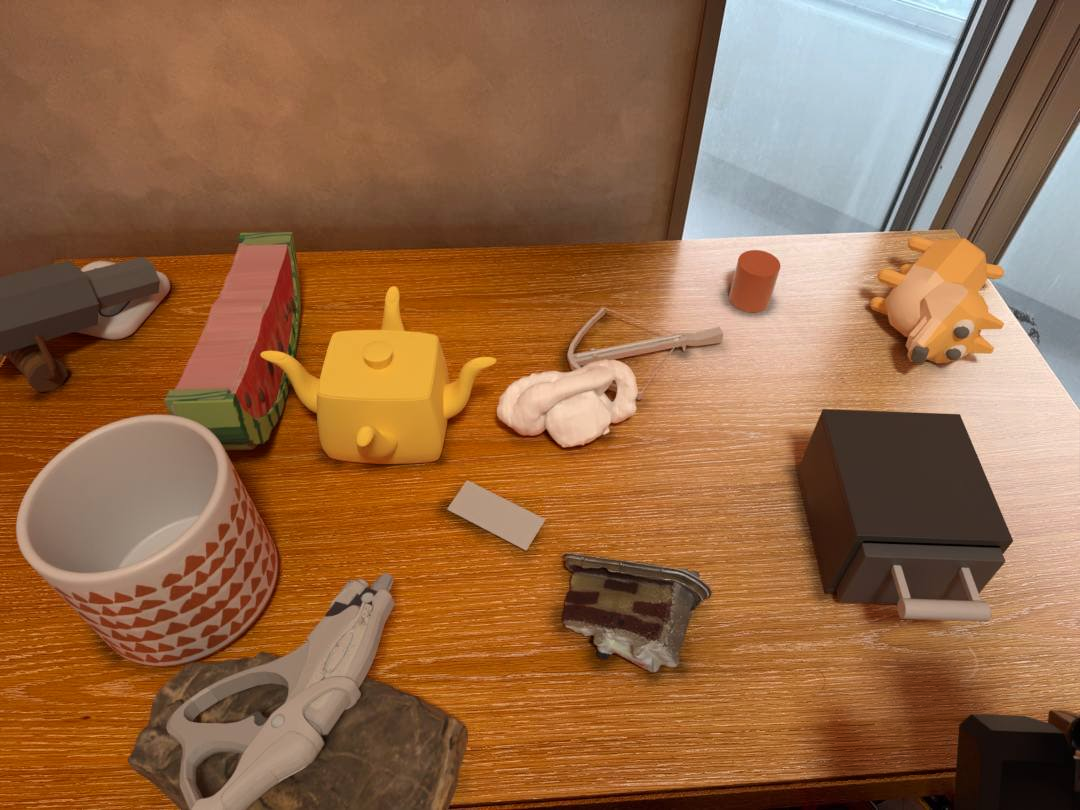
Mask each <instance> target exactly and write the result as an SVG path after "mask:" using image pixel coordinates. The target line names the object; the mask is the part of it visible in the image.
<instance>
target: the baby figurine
mask: <svg viewBox="0 0 1080 810" xmlns="http://www.w3.org/2000/svg"><path fill="white" fill-rule="evenodd" d="M613 381H615V384H616V385H617V392H616V395H615V398H614V400H611V399H610V397H608V396H607V394H606V393H605V392H606V391H607V390H609V389H608V387H609V386H610V384H611V383H614V382H613ZM638 391H639V389H638V384H637V377H636V376H635V373H634V372H633V370H632V368H631V367H630V366H629V365H627V364H626V363H624V362H622V361H620V360H617V359H614V360H607V359H605V360H600V361H595V362H591V363H589V364H587V365H583V366H581V368H578V369H576V370H574V371H572V370H571V371H566V372H563V371H556V370H547V371H542V372H539V373H535V372H531V374H530V375H527V376H522V377H520V378H519V379H517V380H514V381H513V382H512V383H510V384H509V385H508V386H507V387H506V389H505V390H504V392H503V393H501V395H500V396H499V398H498V405H497V407H496V410H495V411H496V415H497V418H498V420H499V421H500V422H502V423H503V424H505V425H506V426H507V427H509V428H511V429H513V431H515V433H517V434H519V435H521V436H525V437H526V436H529V437H534V436H538V435H541V434H543V432H545V431H547V432H548V435H549V436H550V437H551V438H552V439H553V440H554V441H555V442H556V443H557V444H558V445H560V447H562V448H573V447H576V446H585V444H589V443H592V441H594V440H596V439H597V438H599V437H601V436H605V435H607V434H609V433H610V428H609V426H610V424H619V423H620V422H623V421H625V420H627V419H628V418H630V417H632V416H634V415H635V414H636V412H637V408H638V407H637V404H636V402H637V401H636V400H637V399H636V397H637V395H638Z"/></svg>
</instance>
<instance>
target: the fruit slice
mask: <svg viewBox="0 0 1080 810" xmlns="http://www.w3.org/2000/svg"><path fill="white" fill-rule="evenodd" d="M237 239H238V246H237V249H236V252H235V255H234V258H233V261H232V263H231V267H230V269H229V271H228V273H227V275H226V277H225V279H224V281H223V282H224V283H223V286H222V288H221V290H220V293H219V295H218V297H217V299H215V300H214V302H213V303H212V304H211V306H210V310H209V314H208V317H207V320H206V324H205V325H204V327H203V330H202V332H201V334H200V337H199V339H198V341H197V343H196V345H195V347H194V349H193V350H192V353H191V355H190V357H189V358H188V361H187V363H186V365H185V368H184V370H183V372H182V374H181V376H180V379H179V381H178V383H177V384H176V386H175V388H174V389H169V390H168V392H167V394H166V396H165V398H164V399H163V401H164V403H165V404H164V405H165V406H166V409H167V411H168V413H169V415H173V416H179V417H184V418H187V419H190V420H193V421H195V422H197V423H199V424H201V425H203V426H204V427H206V428H207V429H209V430H210V431H211V432H212V433H213V434H214V435H215V436H216V437H217V438H218V440H219V441H220V443H221V444H222V446H223V448H224V449H225V451H247V450H248V451H249V450H250V451H251V450H254V449H255V448H256V447H258V445H264V444H265V443H266V441H269V439H270V436H271V433H272V430H273V429H274V428H275V426H276V425H277V423H278V421H279V420H280V418H281V416H282V413H283V411H284V407H285V404H286V401H287V397H288V393H289V391H290V390H289V389H290V386H291V381H290V379H289V378H288V376H287V374H286V373H285V372H284V371H283V370H282V369H281V368H280V367H279V366H277V365H276V364H274V363H272V362H270V361H267V360H265V359H264V358H262V357H261V356H260V354H261V353H262V352H264V351H278V352H283V353H286V354H288V355H290V356H292V357H293V358H295V359H296V356H297V345H298V339H299V331H300V322H301V306H302V305H301V303H302V301H301V286H300V284H301V283H300V275H299V266H298V258H297V251H296V246H295V240H294V235H293V231H272V232H271V231H268V232H264V231H263V232H240V234H239V235H238V238H237Z"/></svg>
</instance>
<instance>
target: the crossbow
mask: <svg viewBox="0 0 1080 810" xmlns="http://www.w3.org/2000/svg"><path fill="white" fill-rule="evenodd" d="M606 310H607V311H609V312H612V313H615V314H618V315H620V316H622V317H626V318H628V319H631V320H634V321H637V322H639V323H641V324H645V325H646V326H650V327H653V328H656V329H659V330H661V331H664V332H666V333H669V335H660V336H656V337H653V338H649V339H644V340H639V341H632V342H627V343H623V344H618V345H613V346H609V347H608V346H607V347H602V348H597V349H596V348H595V347H591V348H590V349H589V350H587V351H582V352H577V353H575V350H576V348H577V346H578V345H579V343H580V341H581V340H582V339H583V338H584V336H585V335H586V334H587V333H588V332H589V330H590V329H591V328H592V327H593V326H594V325H595V324H596V323H597V322H598V321H599V320H600V319H602V318H603V317H604V315H605V314H606ZM723 337H724V332H723V331H722V329H721V327H720V326H716V327H712V328H708V329H705V330H701V331H700V330H699V331H697V332H679V333H675V332H672V331H669V330H666V329H664V328H661V327H659V326H656V325H653V324H650V323H647V322H644V321H642V320H639V319H638V318H637V319H636V318H635V317H634V318H633V317H631V316H628V315H626V314H622V313H620V312H617V311H614V310H612V309H610V308H606V306H602V307H601V308H600V309H599V311H598V312H597V313H595V314H594V315H593V316H592V317H591V318H590V319H589V320H588V321H587V322H586V323H585V325H583V327H582V328H581V329H580V330H579V331H578V332H577V334H576V336H575V337H574V338H573V340H572V341H571V342H570V344H569V348H568V350H567V355H566V356H567V357H566V358H567V360H566V361H567V362H568V364H569V368H570V370H571V371H574V370H576V369H578V368H582V367H583V366H585V365H587V364H589V363H591V362H595V361H600V360H605V359H607V360H619V359H623V358H628V357H633V356H639V355H643V354H648V353H653V352H659V351H663V350H669V349H671V350H670V352H669V353H668V354H667V356H665V359H663V361H662V362H661V364H660V365H659V367H658V368H657V369H656V371H655V372H654V373H653V375H652V376H651V377H650V379H649V380H648V382H647V383H646V385H645V386H644V387H643V388H642V390H641V391H639V390H638V395H637V397H636V400H637V401H639V400H643V399H644V393H643V392H644V390H645V389H646V388H647V387H648V385H649V384H650V382H651V381H652V380H653V379H654V377H655V375H656V374H657V372H659V370H660V368H662V367H663V364H664V363H665V362H666V361H667V359H668V357H670V355H671V353H672V352H673V351H674V349H675V348H676V349H678V348H680V347H681V349H682V352H686V349H687V346H692V347H694V346H695V347H698V346H706V345H707V346H708V345H714V344H722V343H723ZM607 390H609V391H612V392H614V393H617V384H616V383H614V382H612V383H611V384H610V386H609V387H608V389H607Z"/></svg>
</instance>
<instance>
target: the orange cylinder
mask: <svg viewBox="0 0 1080 810" xmlns="http://www.w3.org/2000/svg"><path fill="white" fill-rule="evenodd" d="M780 270H781V262H780V260H779V259H778V258H777V257H776V256H775V255H774V254H772V253H770V252H768V251H765V250H759V249H750V250H747V251H744V252H742V253H740V255H739V256H738V259H737V262H736V266H735V270H734V274H733V278H732V282H731V286H730V289H729V294H728V300H729V302H730V303H731V305H732V306H734V307H735V308H736V309H738V310H740V311H742V312H746V313H760V312H763V311H765V310H766V309H767V308H768V307H769V306H770V303H771V300H772V296H773V293H774V290H775V287H776V284H777V281H778V277H779V273H780Z"/></svg>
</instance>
